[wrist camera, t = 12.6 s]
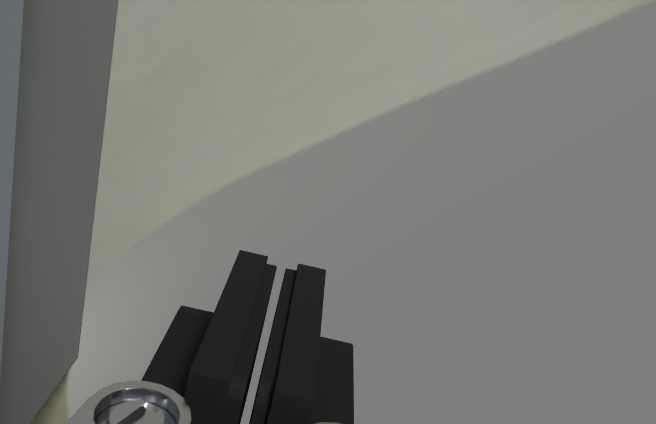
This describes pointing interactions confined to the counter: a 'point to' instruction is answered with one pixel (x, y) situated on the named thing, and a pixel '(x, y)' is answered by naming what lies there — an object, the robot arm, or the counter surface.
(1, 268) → the cover
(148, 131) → the counter surface
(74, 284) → the grey bridge shelf
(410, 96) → the counter surface
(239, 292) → the robot arm
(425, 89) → the counter surface
